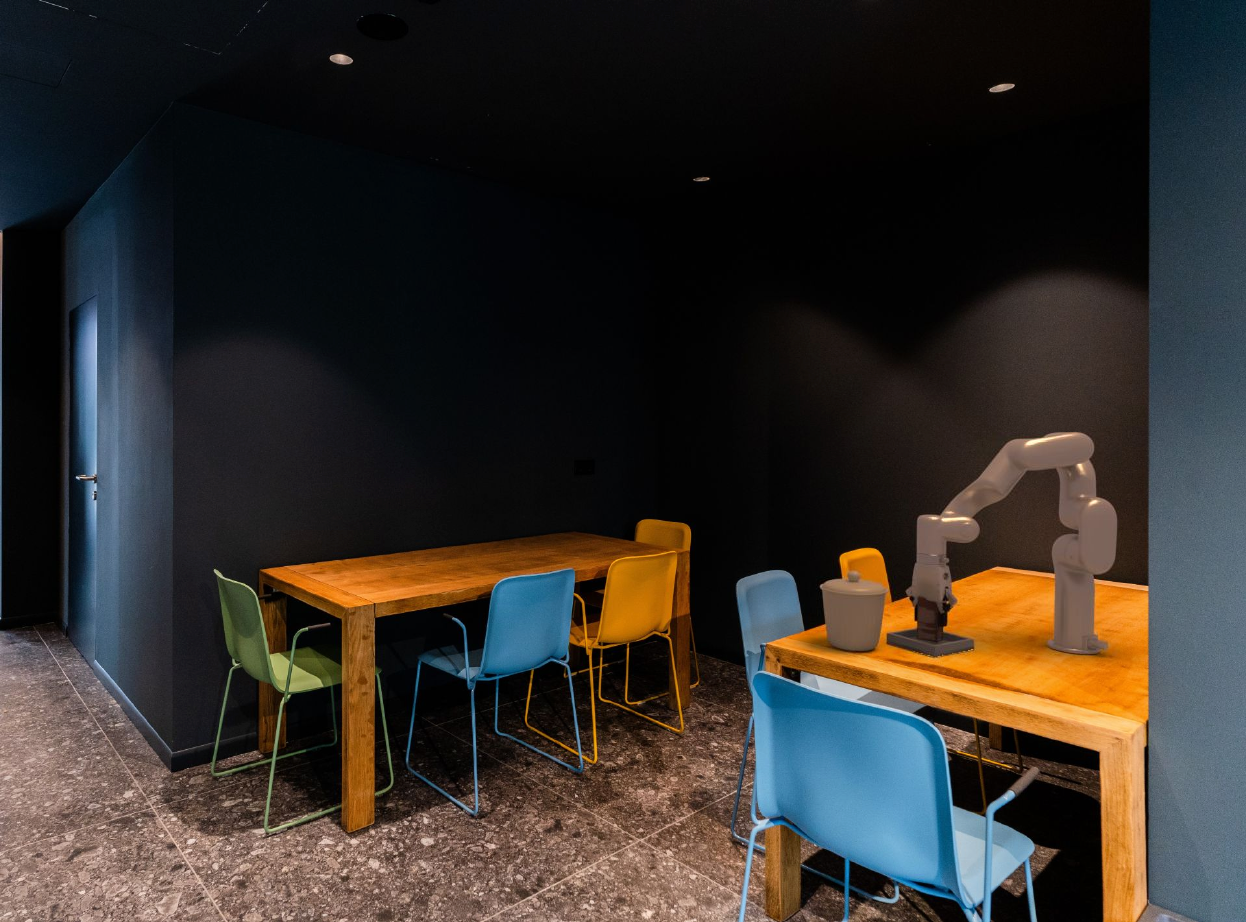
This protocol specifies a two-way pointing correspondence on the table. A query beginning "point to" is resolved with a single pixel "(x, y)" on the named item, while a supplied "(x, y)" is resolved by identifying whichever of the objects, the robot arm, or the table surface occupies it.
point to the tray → (930, 643)
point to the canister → (853, 612)
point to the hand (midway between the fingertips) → (930, 623)
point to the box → (928, 621)
